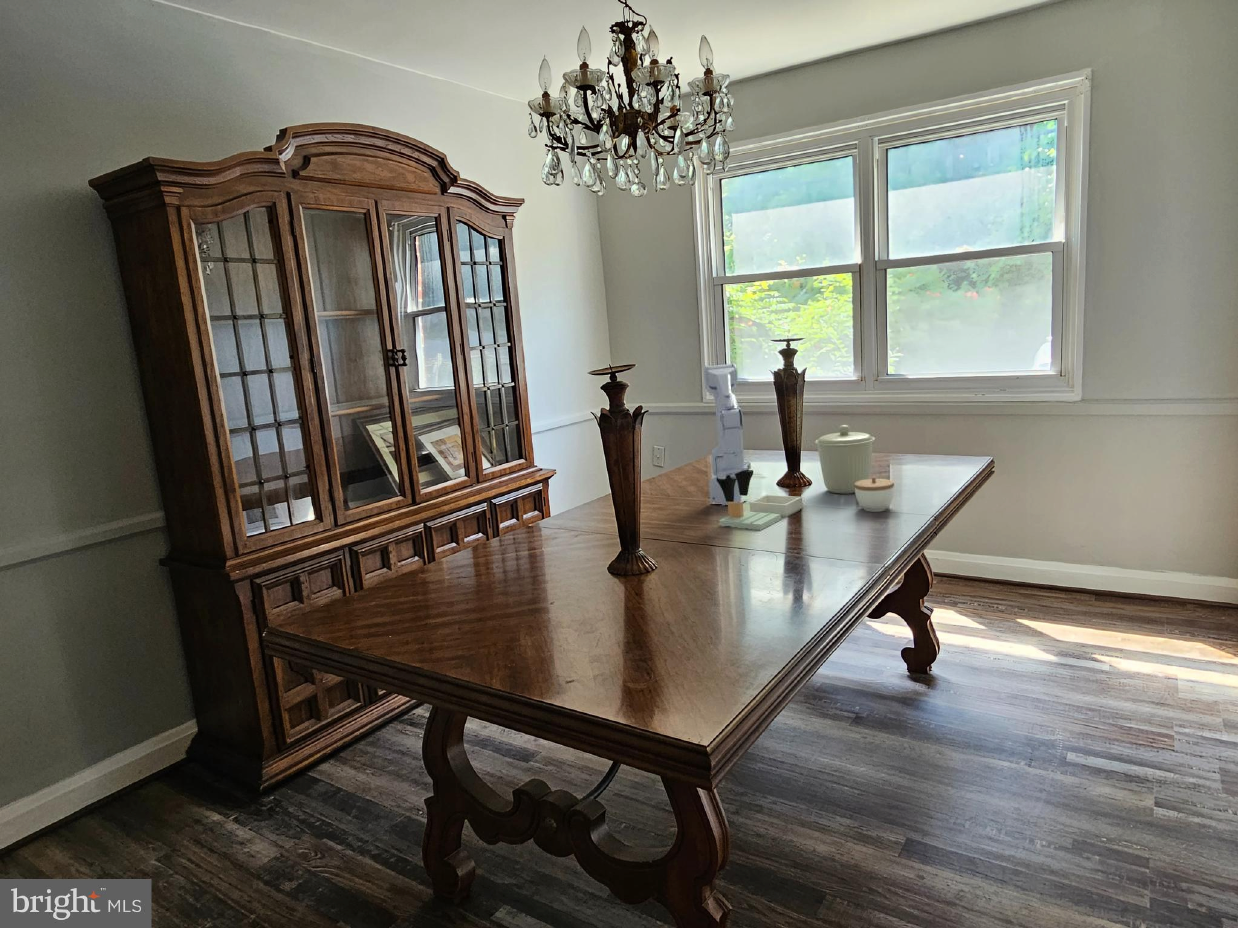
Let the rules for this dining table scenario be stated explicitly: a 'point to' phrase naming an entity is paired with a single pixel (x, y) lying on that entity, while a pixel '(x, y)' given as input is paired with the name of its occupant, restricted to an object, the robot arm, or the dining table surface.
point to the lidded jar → (874, 494)
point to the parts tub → (776, 504)
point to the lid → (747, 518)
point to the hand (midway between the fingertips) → (736, 498)
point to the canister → (845, 459)
